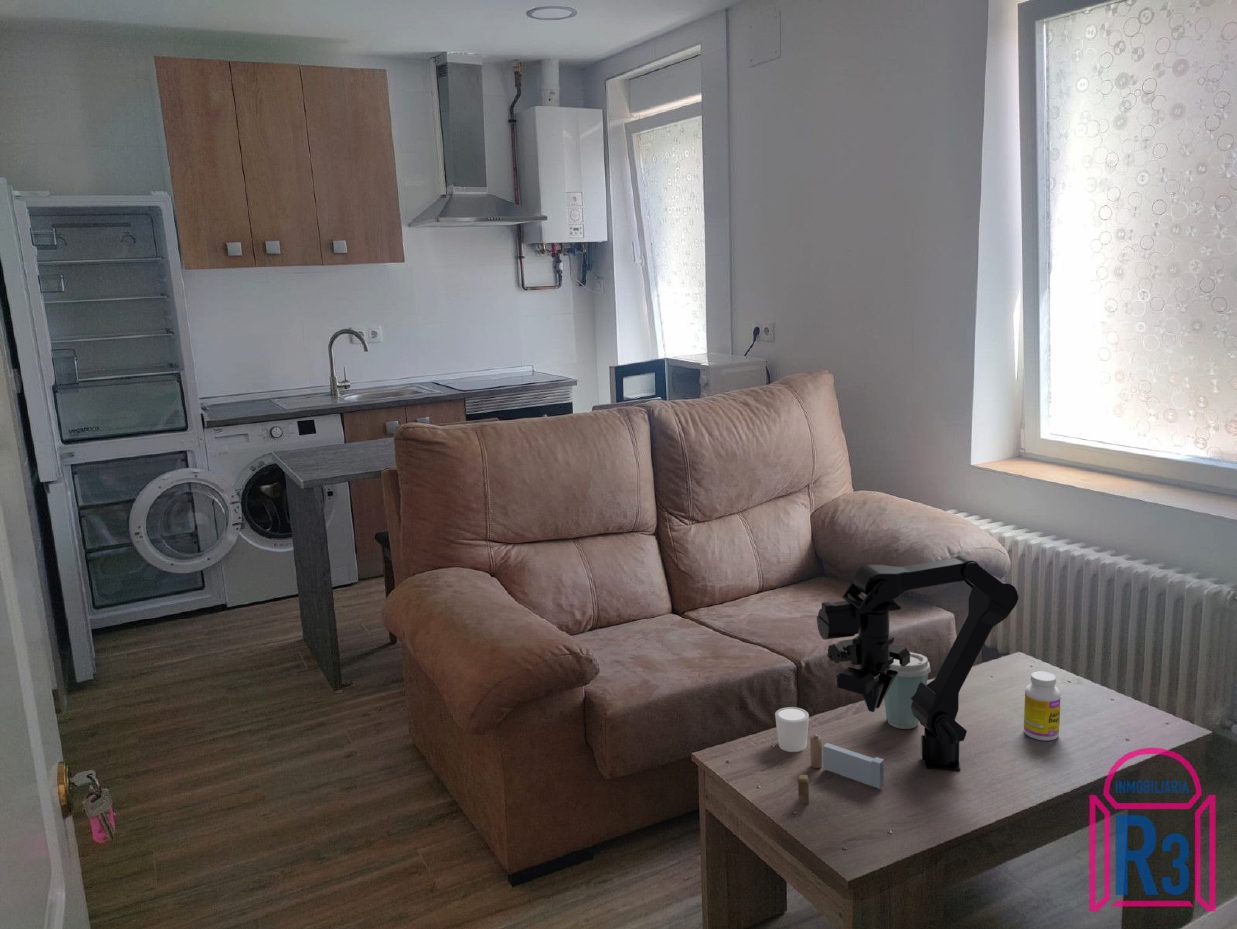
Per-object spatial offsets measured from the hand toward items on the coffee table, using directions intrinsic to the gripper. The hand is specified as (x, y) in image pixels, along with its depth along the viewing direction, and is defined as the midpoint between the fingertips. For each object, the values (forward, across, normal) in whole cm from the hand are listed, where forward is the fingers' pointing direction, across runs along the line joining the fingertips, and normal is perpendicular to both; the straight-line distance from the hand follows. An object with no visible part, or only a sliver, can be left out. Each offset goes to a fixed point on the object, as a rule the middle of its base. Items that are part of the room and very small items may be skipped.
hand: (873, 709), depth 177 cm
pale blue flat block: (+13, +5, -3) cm, 14 cm away
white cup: (+13, +1, -18) cm, 22 cm away
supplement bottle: (+13, -34, +20) cm, 41 cm away
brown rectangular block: (+13, +17, -5) cm, 22 cm away
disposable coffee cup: (+13, -22, -5) cm, 26 cm away
